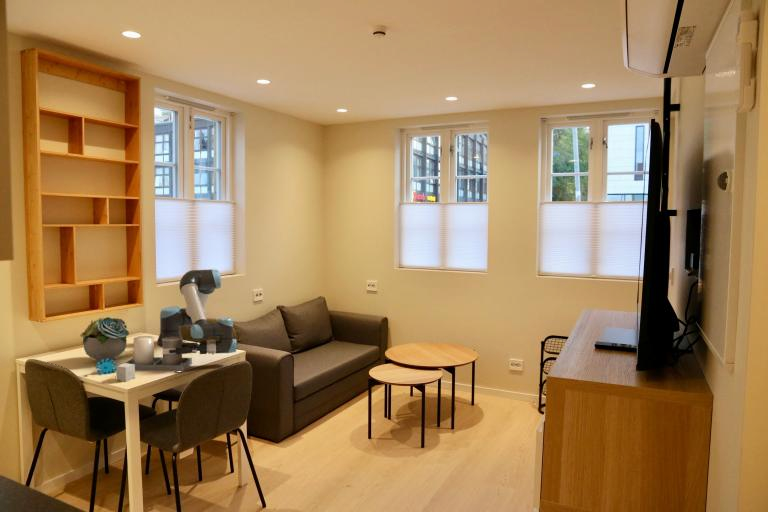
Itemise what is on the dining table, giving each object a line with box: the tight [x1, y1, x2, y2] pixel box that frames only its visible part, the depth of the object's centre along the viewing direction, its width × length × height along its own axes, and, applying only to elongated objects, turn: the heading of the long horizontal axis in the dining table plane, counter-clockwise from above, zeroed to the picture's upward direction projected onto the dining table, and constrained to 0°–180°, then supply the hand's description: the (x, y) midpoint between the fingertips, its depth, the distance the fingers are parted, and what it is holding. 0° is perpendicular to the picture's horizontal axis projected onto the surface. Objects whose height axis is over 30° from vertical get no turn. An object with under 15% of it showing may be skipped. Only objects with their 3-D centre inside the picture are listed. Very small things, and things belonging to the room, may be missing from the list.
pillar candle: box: [162, 336, 183, 365], centre depth 284 cm, size 10×10×15 cm
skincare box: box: [115, 362, 136, 382], centre depth 263 cm, size 6×6×7 cm
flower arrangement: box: [79, 316, 130, 364], centre depth 293 cm, size 25×25×24 cm
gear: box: [95, 358, 117, 376], centre depth 271 cm, size 11×6×10 cm
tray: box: [125, 356, 193, 373], centre depth 284 cm, size 16×31×4 cm, turn 93°
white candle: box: [133, 335, 155, 365], centre depth 283 cm, size 10×10×15 cm
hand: (163, 349), depth 283 cm, fingers closed on pillar candle, 9 cm apart
